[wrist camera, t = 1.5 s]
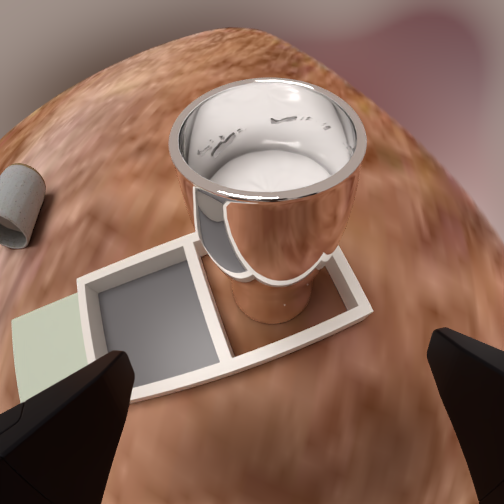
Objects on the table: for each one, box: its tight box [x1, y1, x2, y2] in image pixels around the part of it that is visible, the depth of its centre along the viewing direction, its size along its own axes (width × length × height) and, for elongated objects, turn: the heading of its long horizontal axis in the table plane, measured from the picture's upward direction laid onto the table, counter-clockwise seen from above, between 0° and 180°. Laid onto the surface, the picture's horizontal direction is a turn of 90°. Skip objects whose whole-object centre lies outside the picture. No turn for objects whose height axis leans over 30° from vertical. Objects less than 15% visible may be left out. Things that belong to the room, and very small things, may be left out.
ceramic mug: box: [0, 163, 46, 249], centre depth 24 cm, size 11×8×8 cm
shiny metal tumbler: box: [169, 78, 367, 324], centre depth 15 cm, size 7×7×15 cm
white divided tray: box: [12, 232, 373, 404], centre depth 20 cm, size 32×11×2 cm, turn 110°
